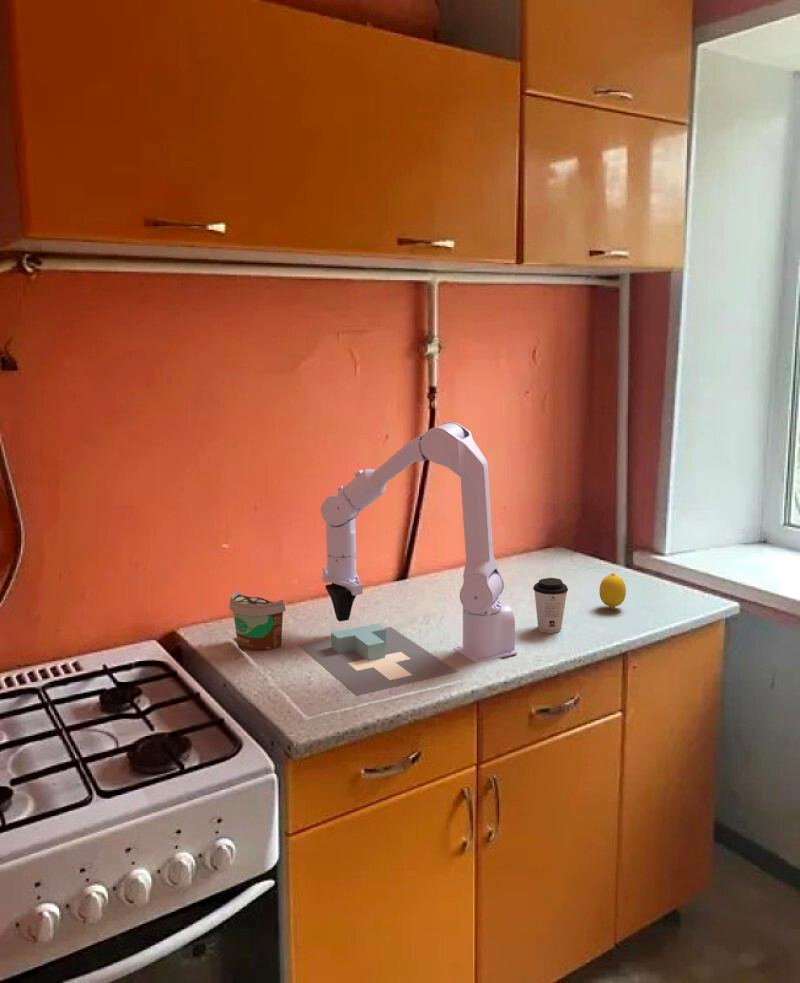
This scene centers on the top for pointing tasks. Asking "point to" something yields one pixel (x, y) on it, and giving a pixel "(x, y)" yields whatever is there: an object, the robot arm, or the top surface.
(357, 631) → the t block
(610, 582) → the lemon
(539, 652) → the top surface
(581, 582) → the top surface
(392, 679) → the mat
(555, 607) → the coffee cup
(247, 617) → the food container
